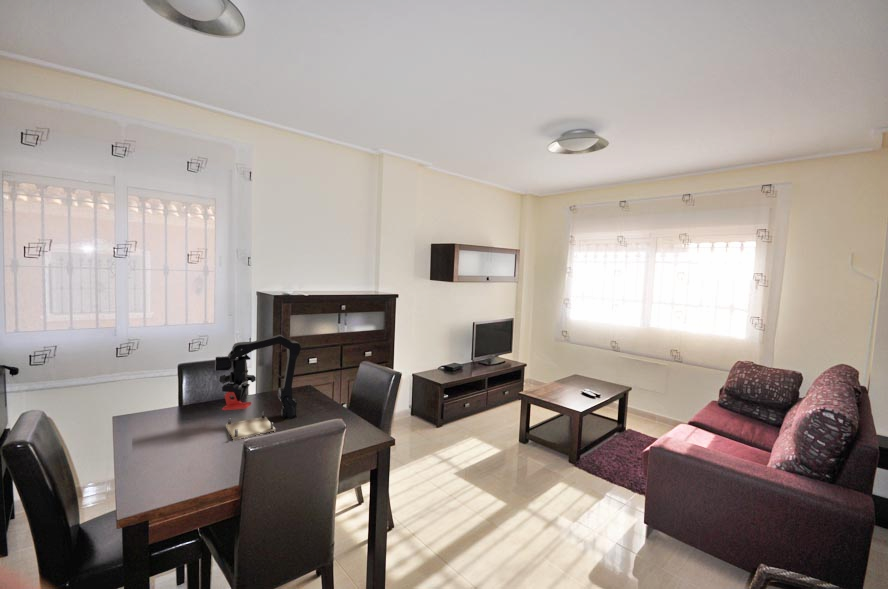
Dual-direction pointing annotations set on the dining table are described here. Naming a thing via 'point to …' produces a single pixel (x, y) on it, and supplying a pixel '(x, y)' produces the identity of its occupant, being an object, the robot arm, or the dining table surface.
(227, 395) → the bracket
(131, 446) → the dining table surface
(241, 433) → the peg board
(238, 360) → the robot arm
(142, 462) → the dining table surface
